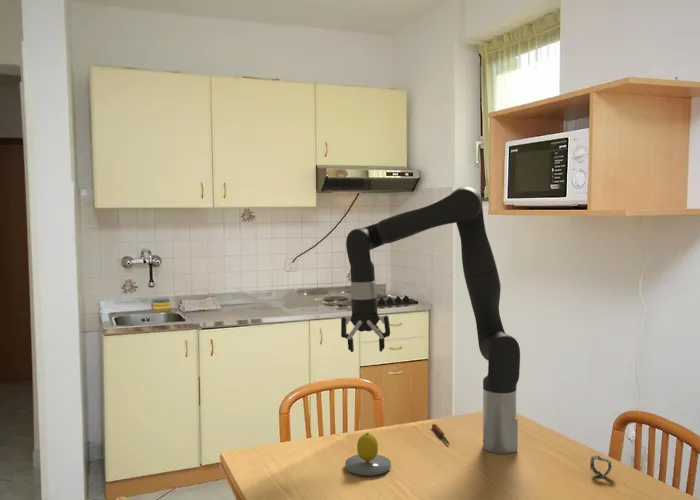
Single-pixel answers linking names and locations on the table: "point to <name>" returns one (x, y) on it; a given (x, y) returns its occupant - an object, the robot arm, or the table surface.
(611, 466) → the wristwatch
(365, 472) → the dish
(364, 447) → the lemon
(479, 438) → the table surface
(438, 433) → the kitchen knife
